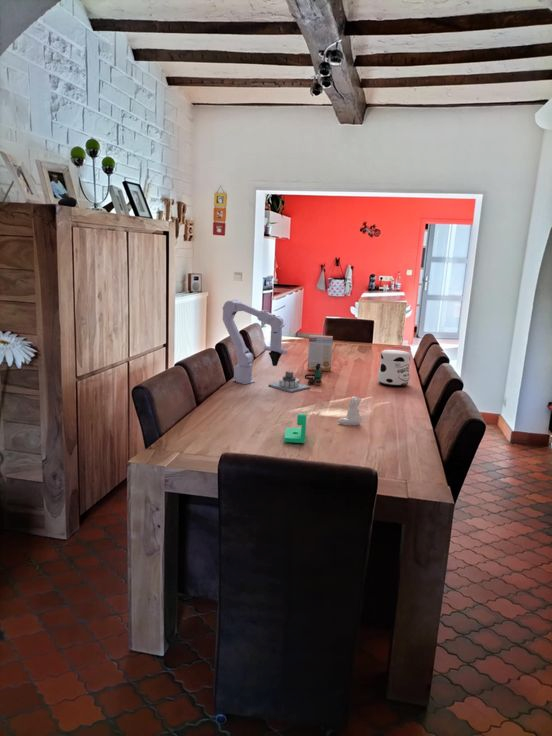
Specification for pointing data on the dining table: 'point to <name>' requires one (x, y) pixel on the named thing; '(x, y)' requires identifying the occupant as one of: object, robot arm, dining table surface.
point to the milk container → (394, 368)
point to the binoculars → (317, 376)
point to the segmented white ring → (289, 383)
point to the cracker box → (320, 352)
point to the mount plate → (300, 387)
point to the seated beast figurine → (352, 413)
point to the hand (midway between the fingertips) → (274, 365)
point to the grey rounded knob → (289, 376)
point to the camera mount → (297, 431)
